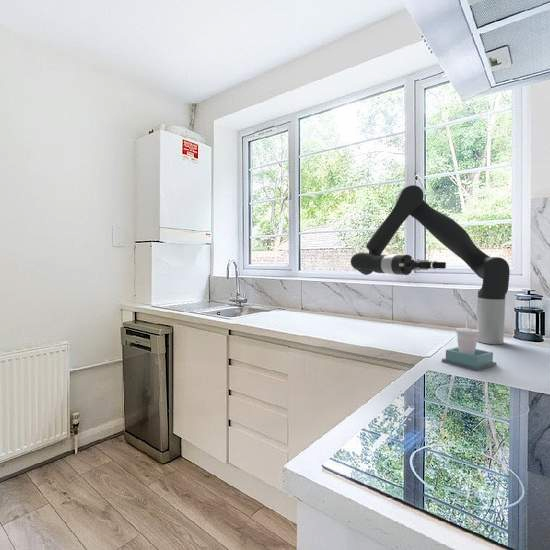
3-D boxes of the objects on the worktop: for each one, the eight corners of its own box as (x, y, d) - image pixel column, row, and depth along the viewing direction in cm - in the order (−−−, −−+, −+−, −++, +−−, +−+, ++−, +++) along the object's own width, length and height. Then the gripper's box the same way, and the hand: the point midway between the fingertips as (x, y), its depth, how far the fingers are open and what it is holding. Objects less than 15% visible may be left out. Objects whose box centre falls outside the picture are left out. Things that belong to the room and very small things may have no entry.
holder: (460, 356, 115) (461, 345, 115) (496, 365, 106) (497, 352, 106) (441, 361, 109) (442, 349, 109) (478, 371, 100) (478, 358, 100)
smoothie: (471, 358, 110) (473, 314, 110) (482, 364, 104) (484, 317, 103) (450, 357, 111) (452, 313, 110) (460, 363, 104) (462, 317, 104)
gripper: (384, 253, 125) (425, 253, 112) (409, 254, 133) (450, 254, 119) (383, 274, 125) (424, 277, 112) (408, 274, 133) (449, 276, 120)
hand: (438, 265), depth 116 cm, fingers open, 8 cm apart
